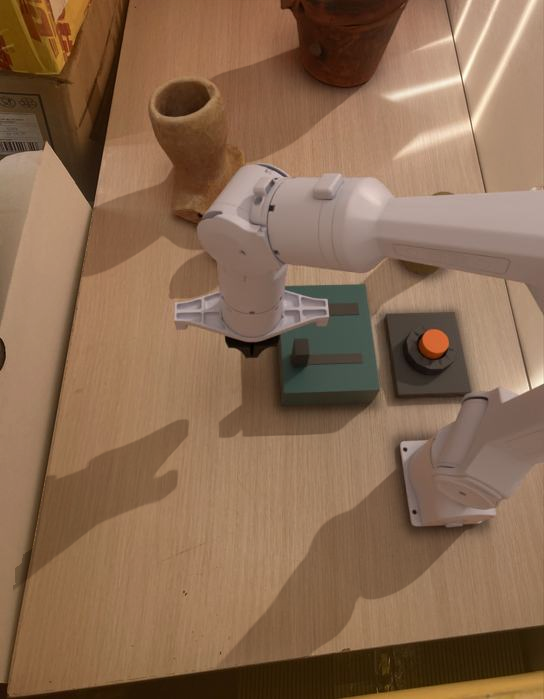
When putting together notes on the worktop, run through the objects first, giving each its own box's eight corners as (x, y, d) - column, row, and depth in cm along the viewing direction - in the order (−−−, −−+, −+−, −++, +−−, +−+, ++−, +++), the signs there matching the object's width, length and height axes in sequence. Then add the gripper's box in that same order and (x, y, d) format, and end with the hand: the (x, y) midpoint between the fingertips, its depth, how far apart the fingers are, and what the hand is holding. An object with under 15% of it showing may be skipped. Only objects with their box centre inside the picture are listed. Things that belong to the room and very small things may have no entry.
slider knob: (306, 367, 62) (309, 354, 58) (292, 367, 61) (295, 355, 58) (305, 351, 62) (308, 338, 59) (291, 351, 62) (294, 338, 59)
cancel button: (446, 358, 65) (451, 352, 63) (420, 359, 65) (424, 353, 63) (441, 334, 66) (446, 328, 65) (416, 335, 66) (420, 329, 65)
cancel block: (468, 395, 66) (477, 387, 63) (395, 398, 65) (402, 389, 63) (451, 316, 70) (459, 305, 68) (383, 317, 70) (389, 306, 67)
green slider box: (372, 402, 65) (380, 389, 61) (281, 405, 64) (283, 392, 60) (358, 301, 71) (365, 283, 67) (275, 303, 70) (277, 285, 66)
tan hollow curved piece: (171, 146, 81) (155, 55, 67) (250, 154, 81) (250, 64, 67) (152, 228, 74) (130, 146, 61) (238, 236, 74) (235, 157, 61)
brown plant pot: (278, 21, 93) (284, -100, 77) (393, 28, 94) (423, -91, 77) (274, 95, 86) (280, -22, 69) (399, 102, 86) (433, -12, 70)
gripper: (330, 245, 48) (314, 315, 61) (168, 248, 48) (185, 318, 60) (338, 314, 46) (319, 373, 58) (166, 318, 45) (184, 377, 57)
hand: (251, 349), depth 59 cm, fingers closed
